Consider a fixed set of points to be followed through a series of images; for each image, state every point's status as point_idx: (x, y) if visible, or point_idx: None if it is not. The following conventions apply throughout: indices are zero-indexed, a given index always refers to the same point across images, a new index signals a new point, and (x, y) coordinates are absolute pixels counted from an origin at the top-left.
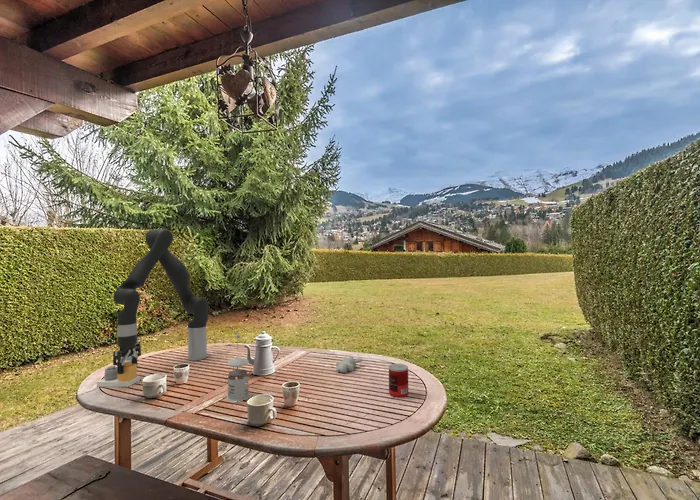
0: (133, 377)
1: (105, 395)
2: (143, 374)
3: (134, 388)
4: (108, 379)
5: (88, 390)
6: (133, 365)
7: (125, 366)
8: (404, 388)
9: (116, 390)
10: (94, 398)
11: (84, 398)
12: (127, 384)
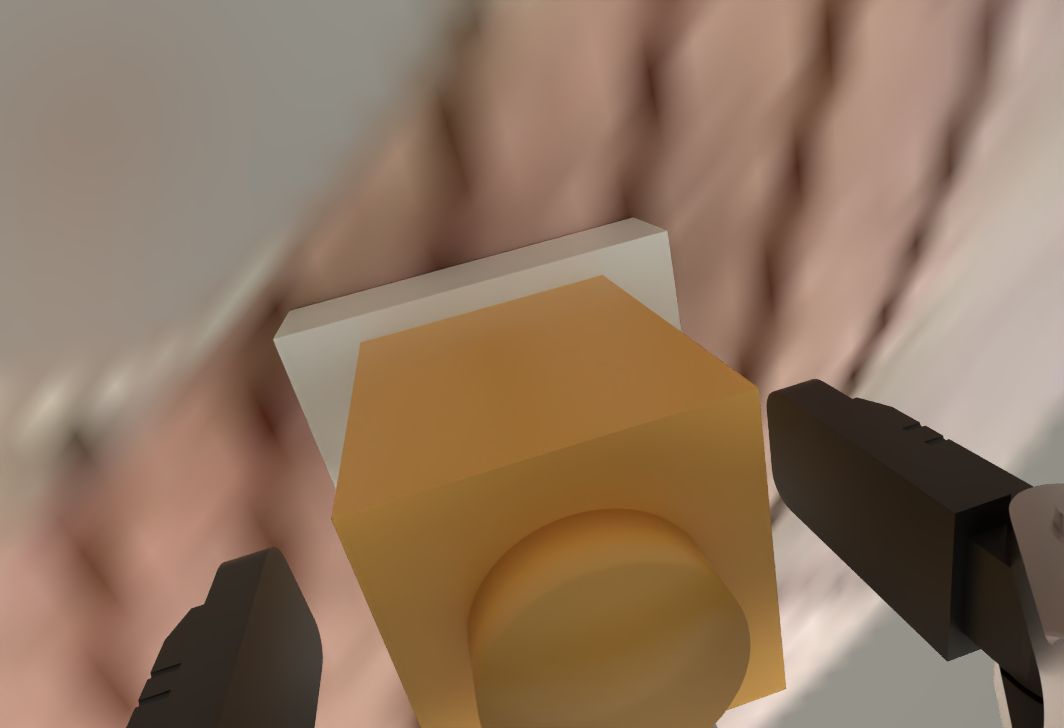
0: (467, 321)
1: (959, 244)
2: (23, 545)
3: (653, 19)
4: None
5: (820, 616)
6: (509, 457)
7: (709, 561)
8: None
9: (779, 270)
10: (1050, 291)
11: (1043, 413)
12: (651, 227)
